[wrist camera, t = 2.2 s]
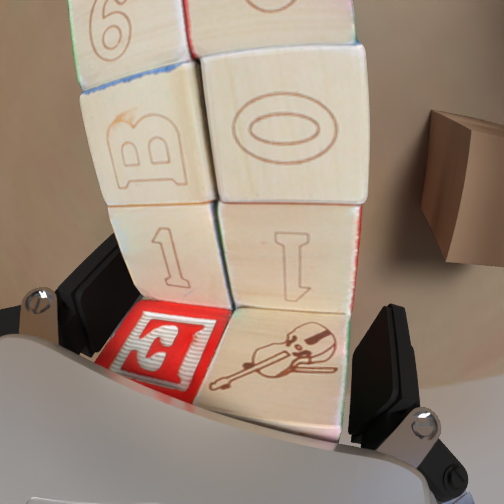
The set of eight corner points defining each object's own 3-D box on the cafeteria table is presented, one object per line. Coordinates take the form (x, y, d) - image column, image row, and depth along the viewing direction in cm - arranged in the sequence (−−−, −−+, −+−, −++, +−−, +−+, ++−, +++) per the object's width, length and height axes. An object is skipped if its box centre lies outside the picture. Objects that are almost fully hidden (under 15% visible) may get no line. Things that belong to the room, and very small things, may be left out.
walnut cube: (514, 128, 10) (570, 158, 6) (498, 216, 13) (537, 270, 9) (430, 109, 11) (471, 129, 7) (420, 206, 14) (445, 261, 10)
